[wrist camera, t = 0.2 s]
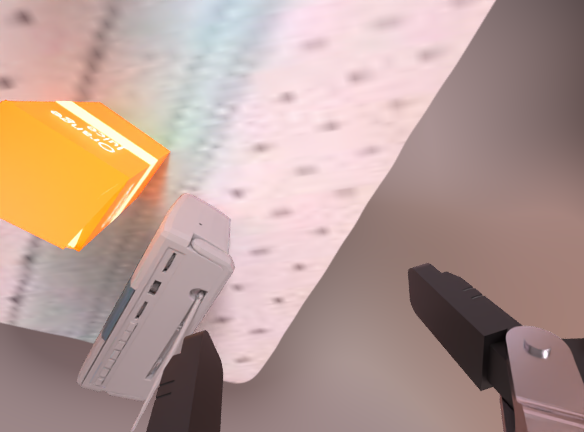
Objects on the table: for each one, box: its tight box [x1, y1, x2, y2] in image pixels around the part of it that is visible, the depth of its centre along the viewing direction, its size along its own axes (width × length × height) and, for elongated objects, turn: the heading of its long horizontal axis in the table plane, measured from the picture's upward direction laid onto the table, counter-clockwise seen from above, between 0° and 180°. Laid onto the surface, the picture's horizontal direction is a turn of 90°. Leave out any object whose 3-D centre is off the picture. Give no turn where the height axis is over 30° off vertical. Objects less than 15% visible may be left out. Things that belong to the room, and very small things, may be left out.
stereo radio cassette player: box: [77, 193, 235, 432], centre depth 31 cm, size 21×8×20 cm, turn 146°
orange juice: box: [0, 100, 170, 251], centre depth 25 cm, size 8×9×20 cm
